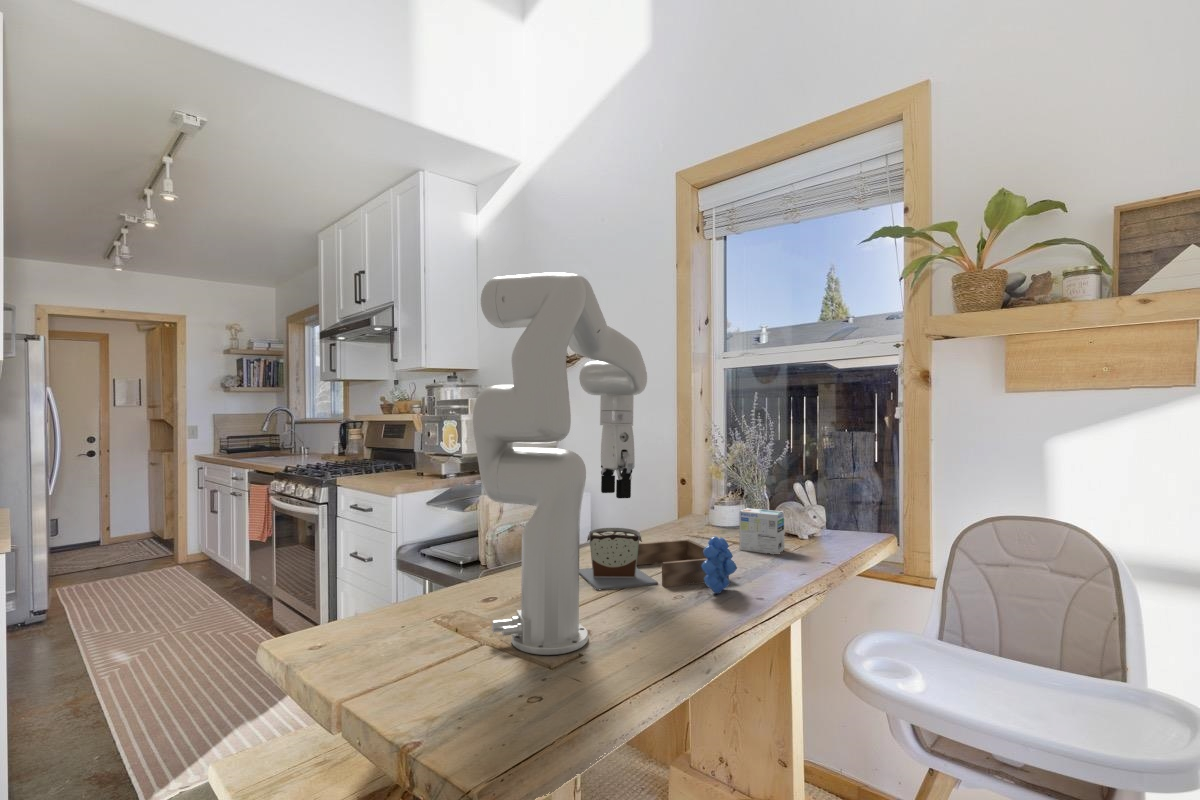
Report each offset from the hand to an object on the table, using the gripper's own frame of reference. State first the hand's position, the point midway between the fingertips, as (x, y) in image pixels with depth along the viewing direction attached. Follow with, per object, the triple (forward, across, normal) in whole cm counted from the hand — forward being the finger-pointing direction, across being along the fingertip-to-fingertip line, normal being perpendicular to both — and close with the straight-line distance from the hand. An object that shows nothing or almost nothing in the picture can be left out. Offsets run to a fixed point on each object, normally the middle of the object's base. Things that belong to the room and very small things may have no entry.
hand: (615, 495), depth 133 cm
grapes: (+19, -17, -18) cm, 31 cm away
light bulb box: (+18, +13, -48) cm, 53 cm away
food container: (+18, +2, -1) cm, 18 cm away
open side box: (+18, +1, -16) cm, 24 cm away
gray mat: (+19, +1, -1) cm, 19 cm away
